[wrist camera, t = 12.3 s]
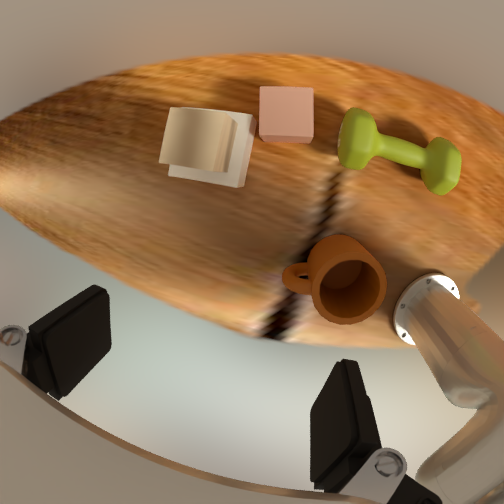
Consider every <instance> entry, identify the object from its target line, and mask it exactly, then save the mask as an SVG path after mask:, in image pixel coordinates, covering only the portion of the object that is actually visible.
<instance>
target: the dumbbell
mask: <svg viewBox="0 0 504 504" xmlns="http://www.w3.org/2000/svg"><path fill="white" fill-rule="evenodd" d="M337 151H338V157H339V161H340V163H341V164H342V166H344V167H346V168H349V169H354V170H361V169H362V168H364V167H365V166H366V165H367V163H368V162H369V160H370V159H371V158H372V157H373V156H380V157H383V158H385V159H388V160H391V161H394V162H397V163H400V164H403V165H407V166H410V167H415V168H418V169H420V175H421V178H422V180H423V182H424V184H425V185H426V187H427V189H428V190H429V191H431V192H432V193H435V194H437V195H444V194H446V193H447V192H449V191H450V190H451V189H452V188H454V187H455V186H456V185H457V183H458V181H459V177H460V170H461V154H460V152H459V150H458V149H457V148H456V147H455V145H454V144H452V143H451V142H450V141H448V140H446V139H444V138H442V137H436V138H434V139H433V140H432V141H431V142H430V143H429V144H428V145H427V147H426V148H422V147H420V146H418V145H416V144H413V143H411V142H408V141H405V140H403V139H399V138H396V137H393V136H388V135H383V134H381V133H379V132H378V131H377V127H376V123H375V121H374V119H373V117H372V116H371V114H370V113H368V112H367V111H365V110H362V109H358V108H350V109H349V110H348V111H347V112H346V114H345V116H344V118H343V121H342V124H341V127H340V130H339V136H338V145H337Z"/></svg>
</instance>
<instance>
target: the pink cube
mask: <svg viewBox="0 0 504 504" xmlns="http://www.w3.org/2000/svg"><path fill="white" fill-rule="evenodd" d="M313 134H314V109H313V88H306V87H281V86H260V109H259V136H260V137H261V138H262V140H263V141H264V142H285V143H306V144H310V143H311V141H312V139H313Z"/></svg>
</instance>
